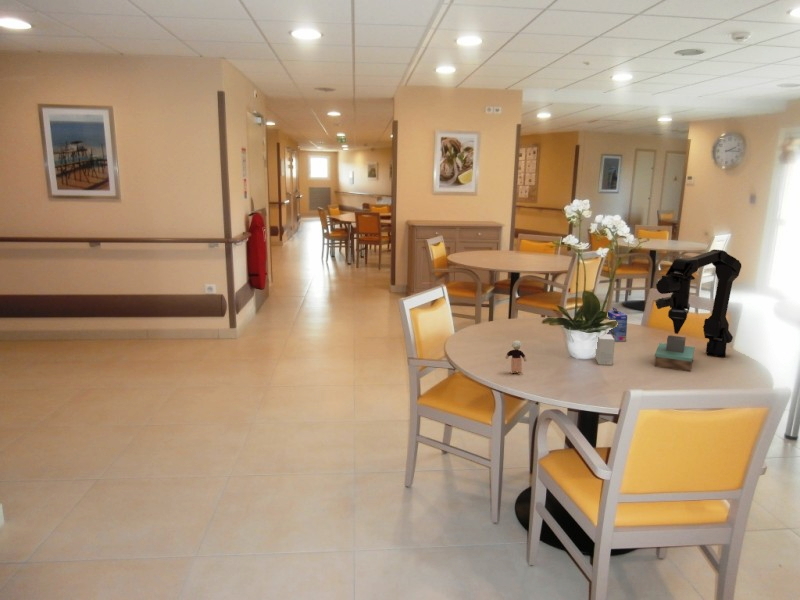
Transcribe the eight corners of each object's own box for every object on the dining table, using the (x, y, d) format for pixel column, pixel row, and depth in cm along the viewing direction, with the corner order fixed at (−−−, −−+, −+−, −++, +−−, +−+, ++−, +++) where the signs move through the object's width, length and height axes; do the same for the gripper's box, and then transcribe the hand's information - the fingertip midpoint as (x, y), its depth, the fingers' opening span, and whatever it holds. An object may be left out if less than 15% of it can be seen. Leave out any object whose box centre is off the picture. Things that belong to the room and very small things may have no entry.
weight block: (684, 349, 208) (685, 337, 207) (683, 352, 203) (684, 340, 202) (667, 347, 211) (668, 335, 210) (666, 350, 206) (667, 338, 205)
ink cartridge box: (604, 335, 247) (606, 305, 244) (615, 335, 247) (618, 305, 244) (614, 341, 237) (617, 310, 234) (626, 341, 238) (629, 310, 235)
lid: (694, 350, 211) (694, 347, 210) (691, 361, 197) (692, 358, 197) (659, 345, 217) (659, 342, 217) (654, 356, 203) (655, 353, 203)
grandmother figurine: (525, 371, 200) (526, 339, 197) (526, 375, 196) (527, 342, 193) (504, 370, 201) (505, 338, 198) (505, 374, 197) (506, 341, 195)
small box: (613, 365, 206) (615, 339, 204) (598, 364, 207) (599, 338, 205) (609, 359, 214) (611, 333, 211) (594, 358, 215) (596, 333, 213)
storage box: (692, 359, 212) (693, 350, 211) (689, 371, 198) (691, 361, 198) (659, 355, 218) (660, 345, 217) (654, 366, 204) (655, 356, 204)
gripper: (660, 285, 214) (657, 323, 218) (655, 293, 199) (651, 333, 202) (691, 288, 209) (687, 326, 212) (688, 296, 193) (684, 337, 196)
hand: (677, 330), depth 206 cm, fingers open, 9 cm apart
